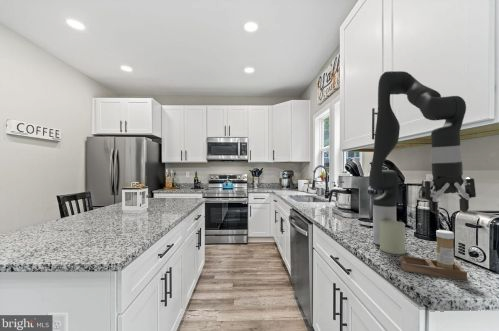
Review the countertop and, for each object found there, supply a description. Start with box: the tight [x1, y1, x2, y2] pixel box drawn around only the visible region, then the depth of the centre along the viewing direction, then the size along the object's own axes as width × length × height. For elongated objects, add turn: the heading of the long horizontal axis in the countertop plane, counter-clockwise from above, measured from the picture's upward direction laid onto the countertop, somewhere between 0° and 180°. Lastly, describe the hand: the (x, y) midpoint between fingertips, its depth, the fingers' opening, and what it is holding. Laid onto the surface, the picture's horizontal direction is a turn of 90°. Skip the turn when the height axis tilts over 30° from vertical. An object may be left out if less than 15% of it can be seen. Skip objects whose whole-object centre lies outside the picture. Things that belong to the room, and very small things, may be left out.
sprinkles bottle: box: [435, 229, 455, 269], centre depth 80 cm, size 5×5×14 cm
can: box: [379, 220, 406, 255], centre depth 102 cm, size 9×9×12 cm
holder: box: [398, 254, 468, 281], centre depth 82 cm, size 8×16×2 cm, turn 66°
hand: (448, 211), depth 78 cm, fingers open, 8 cm apart
